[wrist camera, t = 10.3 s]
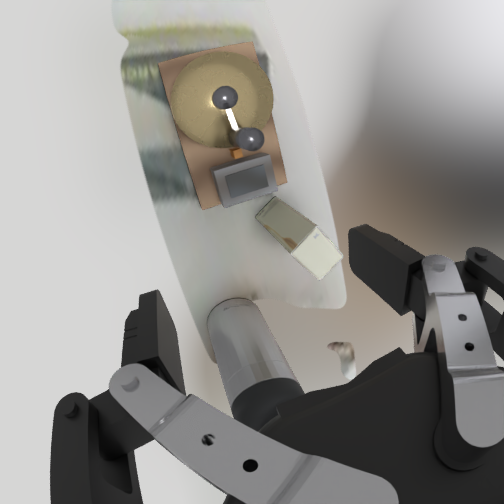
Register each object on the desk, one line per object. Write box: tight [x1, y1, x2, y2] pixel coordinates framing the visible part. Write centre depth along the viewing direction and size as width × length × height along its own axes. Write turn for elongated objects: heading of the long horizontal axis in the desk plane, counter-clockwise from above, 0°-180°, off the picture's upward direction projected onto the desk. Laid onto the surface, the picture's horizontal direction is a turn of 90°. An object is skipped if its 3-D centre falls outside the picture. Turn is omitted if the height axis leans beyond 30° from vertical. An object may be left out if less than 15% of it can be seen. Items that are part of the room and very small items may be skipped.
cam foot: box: [171, 51, 273, 151], centre depth 28 cm, size 12×12×8 cm
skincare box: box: [256, 197, 343, 281], centre depth 37 cm, size 6×4×12 cm
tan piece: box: [158, 42, 287, 210], centre depth 32 cm, size 20×12×5 cm, turn 14°
